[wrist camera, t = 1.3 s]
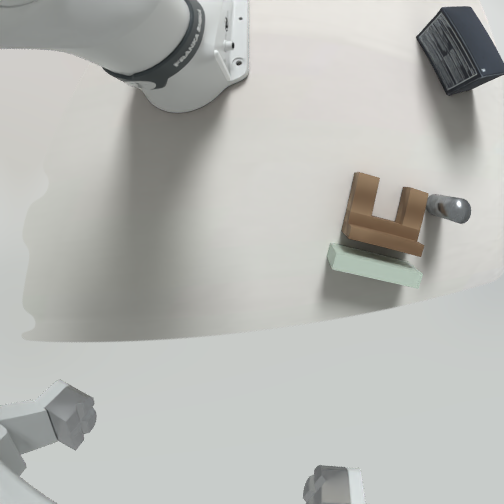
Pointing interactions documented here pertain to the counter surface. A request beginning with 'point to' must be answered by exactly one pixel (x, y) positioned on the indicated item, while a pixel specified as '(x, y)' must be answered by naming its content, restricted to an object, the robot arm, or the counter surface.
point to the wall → (373, 266)
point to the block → (381, 230)
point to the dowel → (449, 208)
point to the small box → (460, 50)
